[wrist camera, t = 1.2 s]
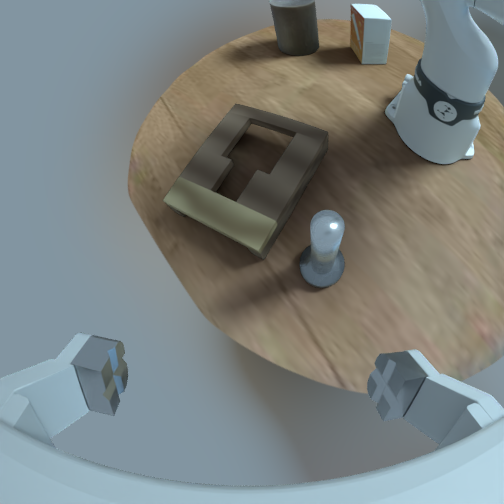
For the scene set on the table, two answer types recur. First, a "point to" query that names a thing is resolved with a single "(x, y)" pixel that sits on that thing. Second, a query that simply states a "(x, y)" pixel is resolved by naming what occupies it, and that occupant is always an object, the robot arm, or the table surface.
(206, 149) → the keyhole plate
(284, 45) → the pillar candle
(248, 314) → the table surface
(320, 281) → the footed peg
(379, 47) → the small box
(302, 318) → the table surface
